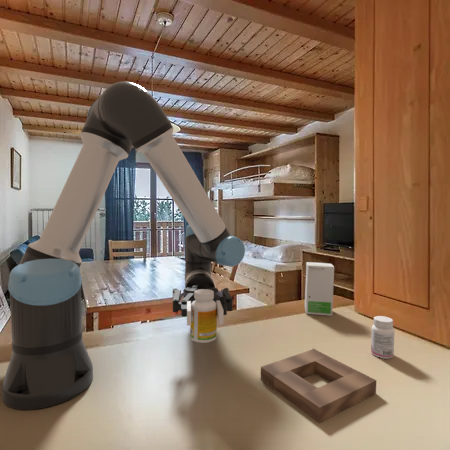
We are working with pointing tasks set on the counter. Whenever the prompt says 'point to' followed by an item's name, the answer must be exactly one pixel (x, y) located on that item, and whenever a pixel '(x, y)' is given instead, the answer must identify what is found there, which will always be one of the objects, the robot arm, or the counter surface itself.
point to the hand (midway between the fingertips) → (205, 317)
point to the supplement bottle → (203, 316)
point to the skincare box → (319, 288)
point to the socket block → (323, 396)
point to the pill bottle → (382, 337)
